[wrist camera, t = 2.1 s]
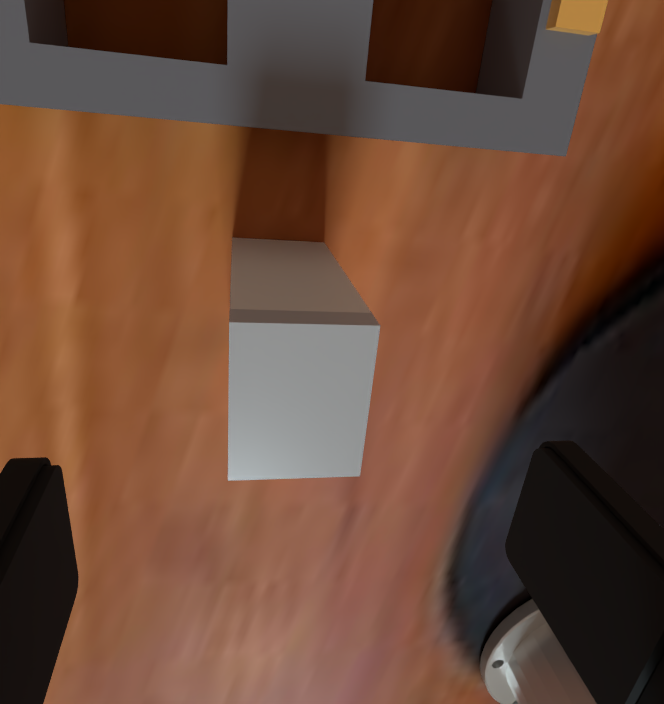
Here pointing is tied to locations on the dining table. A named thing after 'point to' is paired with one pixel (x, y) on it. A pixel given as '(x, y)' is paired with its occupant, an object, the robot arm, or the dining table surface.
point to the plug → (296, 363)
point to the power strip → (318, 75)
